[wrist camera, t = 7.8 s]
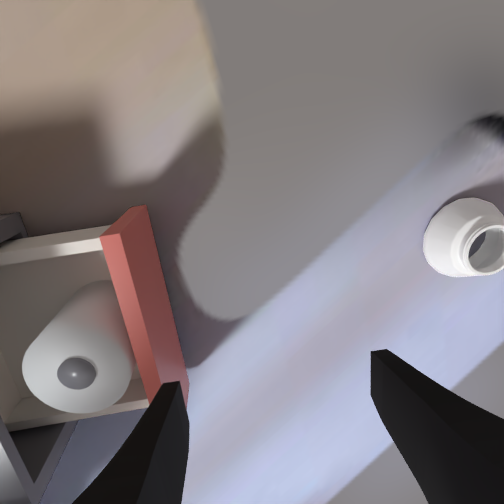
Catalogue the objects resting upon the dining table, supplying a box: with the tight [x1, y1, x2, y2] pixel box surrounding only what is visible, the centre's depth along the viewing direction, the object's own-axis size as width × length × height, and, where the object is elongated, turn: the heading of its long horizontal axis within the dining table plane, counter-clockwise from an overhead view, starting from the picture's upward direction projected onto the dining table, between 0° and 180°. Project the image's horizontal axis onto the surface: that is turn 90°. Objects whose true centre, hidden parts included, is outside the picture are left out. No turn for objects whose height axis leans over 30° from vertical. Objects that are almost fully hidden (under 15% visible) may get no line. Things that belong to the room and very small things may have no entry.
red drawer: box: [0, 205, 189, 432], centre depth 18 cm, size 12×11×6 cm
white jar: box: [423, 197, 504, 277], centre depth 21 cm, size 5×3×5 cm
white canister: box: [22, 280, 136, 413], centre depth 18 cm, size 5×5×5 cm
